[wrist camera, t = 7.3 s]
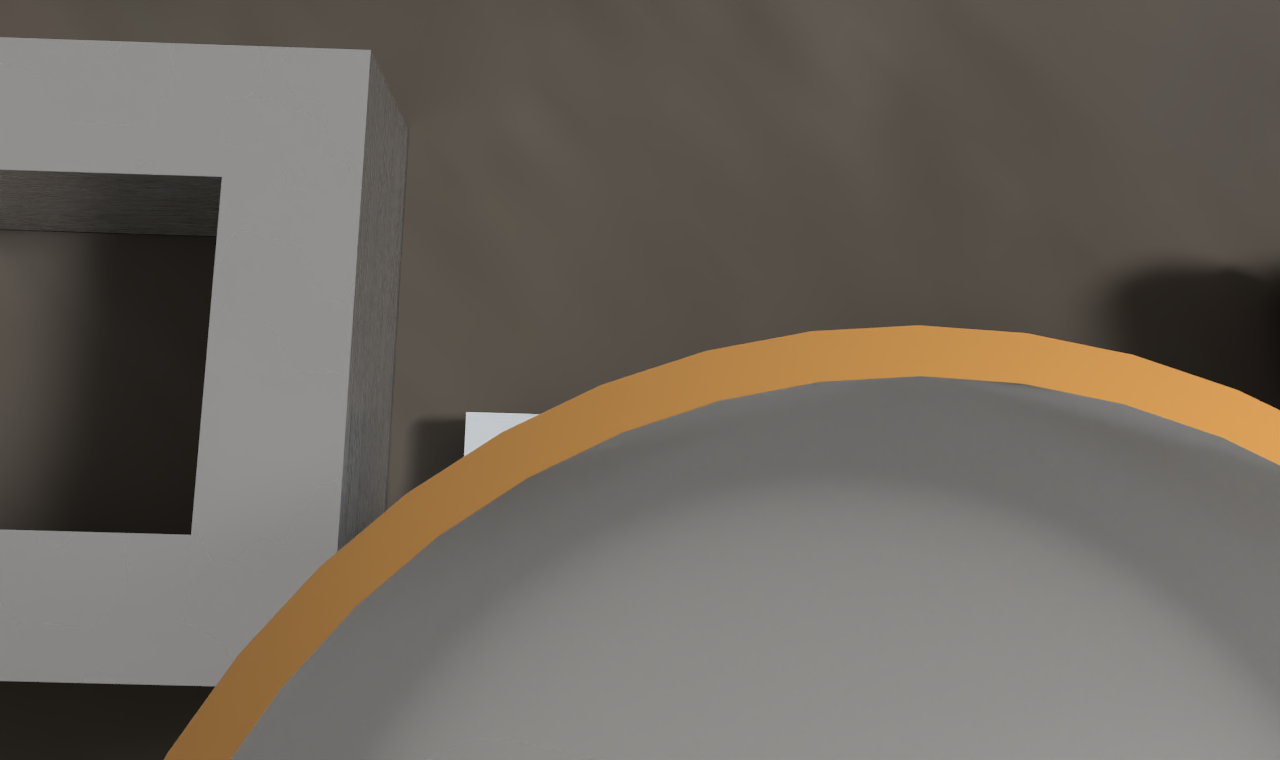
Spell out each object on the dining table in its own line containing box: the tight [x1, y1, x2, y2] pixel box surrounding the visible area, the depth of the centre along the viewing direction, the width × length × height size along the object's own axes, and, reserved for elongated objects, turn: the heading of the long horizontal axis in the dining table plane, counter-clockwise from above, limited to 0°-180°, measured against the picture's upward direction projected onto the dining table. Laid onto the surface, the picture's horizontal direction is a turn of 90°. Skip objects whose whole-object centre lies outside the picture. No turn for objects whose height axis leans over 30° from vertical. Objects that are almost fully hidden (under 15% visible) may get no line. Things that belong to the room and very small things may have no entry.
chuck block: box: [0, 37, 408, 686], centre depth 20 cm, size 10×10×4 cm
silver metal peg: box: [164, 325, 1280, 760], centre depth 8 cm, size 4×4×13 cm
